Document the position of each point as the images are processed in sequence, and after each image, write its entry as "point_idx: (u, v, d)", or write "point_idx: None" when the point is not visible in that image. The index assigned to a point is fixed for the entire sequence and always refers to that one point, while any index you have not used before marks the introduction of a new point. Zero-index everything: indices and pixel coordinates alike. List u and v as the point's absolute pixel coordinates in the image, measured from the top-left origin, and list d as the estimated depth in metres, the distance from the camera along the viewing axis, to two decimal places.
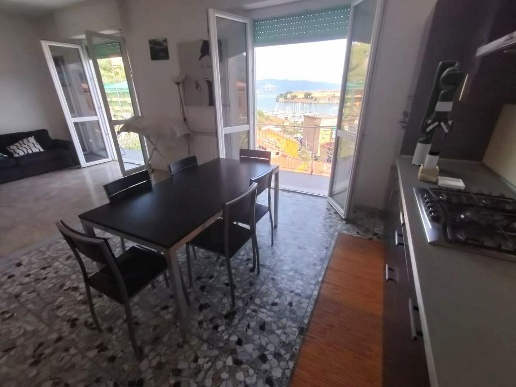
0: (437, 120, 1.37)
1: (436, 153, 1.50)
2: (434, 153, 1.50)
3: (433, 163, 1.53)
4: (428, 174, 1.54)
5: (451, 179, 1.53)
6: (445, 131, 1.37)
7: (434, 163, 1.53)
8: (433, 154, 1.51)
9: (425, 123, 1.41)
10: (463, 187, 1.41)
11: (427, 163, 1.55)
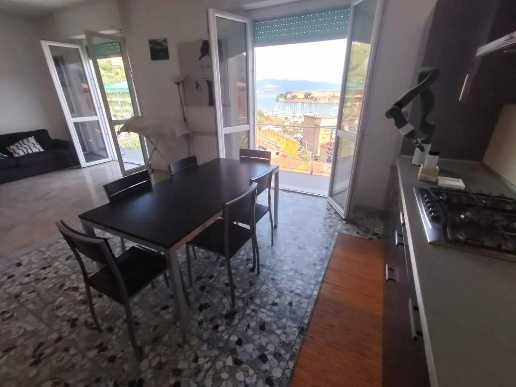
0: None
1: (436, 153, 1.50)
2: (434, 153, 1.50)
3: (433, 163, 1.53)
4: (428, 174, 1.54)
5: (451, 179, 1.53)
6: None
7: (434, 163, 1.53)
8: (433, 154, 1.51)
9: None
10: (463, 187, 1.41)
11: (427, 163, 1.55)
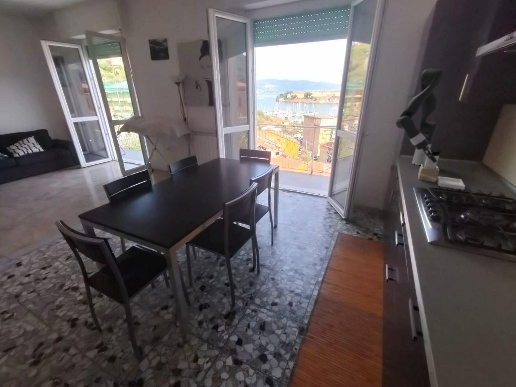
0: None
1: (436, 153, 1.50)
2: (434, 153, 1.50)
3: (433, 163, 1.53)
4: (428, 174, 1.54)
5: (451, 179, 1.53)
6: (429, 158, 1.52)
7: (434, 163, 1.53)
8: (433, 154, 1.51)
9: None
10: (463, 187, 1.41)
11: (427, 163, 1.55)
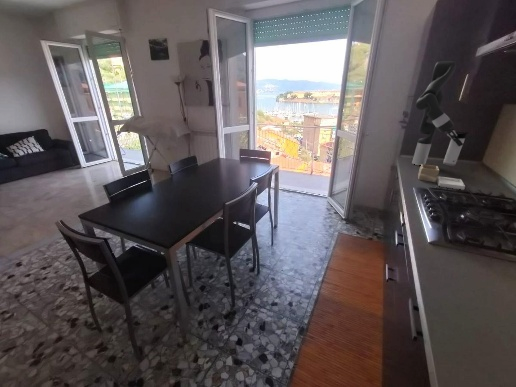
0: None
1: (462, 135, 1.36)
2: (460, 135, 1.37)
3: (458, 147, 1.39)
4: (428, 174, 1.54)
5: (451, 179, 1.53)
6: (454, 141, 1.39)
7: (459, 147, 1.39)
8: (458, 136, 1.37)
9: None
10: (463, 187, 1.41)
11: (451, 147, 1.41)
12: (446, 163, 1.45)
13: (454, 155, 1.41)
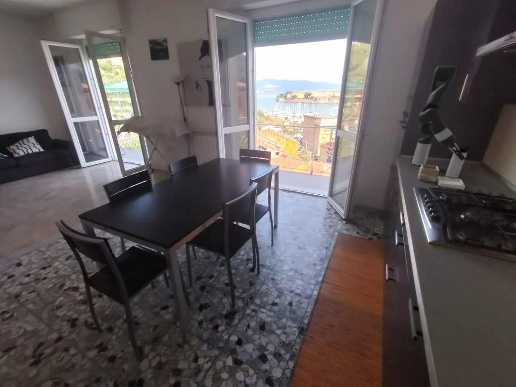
0: None
1: (464, 150, 1.37)
2: (462, 150, 1.38)
3: (461, 161, 1.40)
4: (428, 174, 1.54)
5: (451, 179, 1.53)
6: None
7: (461, 161, 1.40)
8: (461, 150, 1.38)
9: None
10: (463, 187, 1.41)
11: (453, 161, 1.42)
12: (448, 176, 1.46)
13: (457, 169, 1.42)
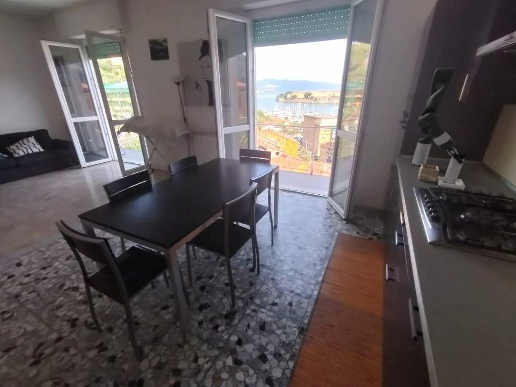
0: None
1: (461, 156, 1.39)
2: None
3: (458, 167, 1.42)
4: (428, 174, 1.54)
5: None
6: None
7: (459, 167, 1.42)
8: None
9: None
10: (463, 187, 1.41)
11: (451, 167, 1.44)
12: (446, 182, 1.48)
13: (454, 175, 1.44)
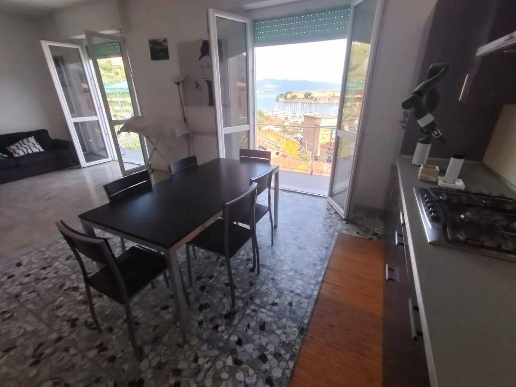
0: None
1: (461, 156, 1.39)
2: (459, 156, 1.40)
3: (458, 167, 1.42)
4: (428, 174, 1.54)
5: None
6: (438, 139, 1.42)
7: (459, 167, 1.42)
8: (458, 157, 1.40)
9: None
10: (463, 187, 1.41)
11: (451, 167, 1.44)
12: (446, 182, 1.48)
13: (454, 175, 1.44)
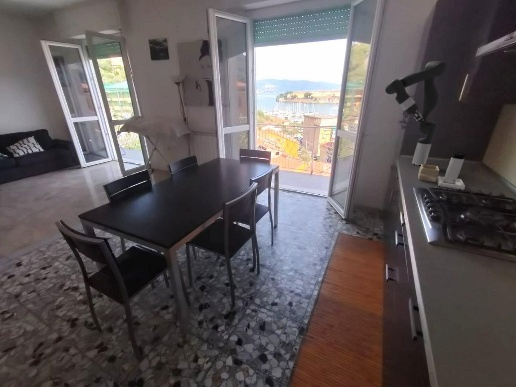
0: None
1: (461, 156, 1.39)
2: (459, 156, 1.40)
3: (458, 167, 1.42)
4: (428, 174, 1.54)
5: None
6: (419, 122, 1.50)
7: (459, 167, 1.42)
8: (458, 157, 1.40)
9: None
10: (463, 187, 1.41)
11: (451, 167, 1.44)
12: (446, 182, 1.48)
13: (454, 175, 1.44)
